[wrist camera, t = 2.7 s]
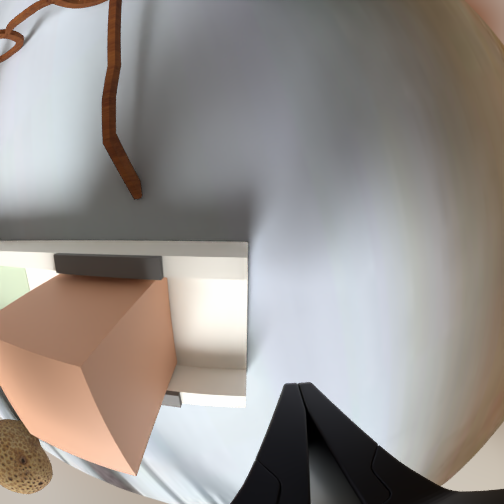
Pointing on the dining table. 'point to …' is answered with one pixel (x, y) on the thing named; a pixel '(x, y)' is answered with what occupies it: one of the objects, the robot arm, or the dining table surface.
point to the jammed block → (89, 364)
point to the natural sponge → (22, 459)
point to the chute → (180, 298)
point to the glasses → (110, 83)
